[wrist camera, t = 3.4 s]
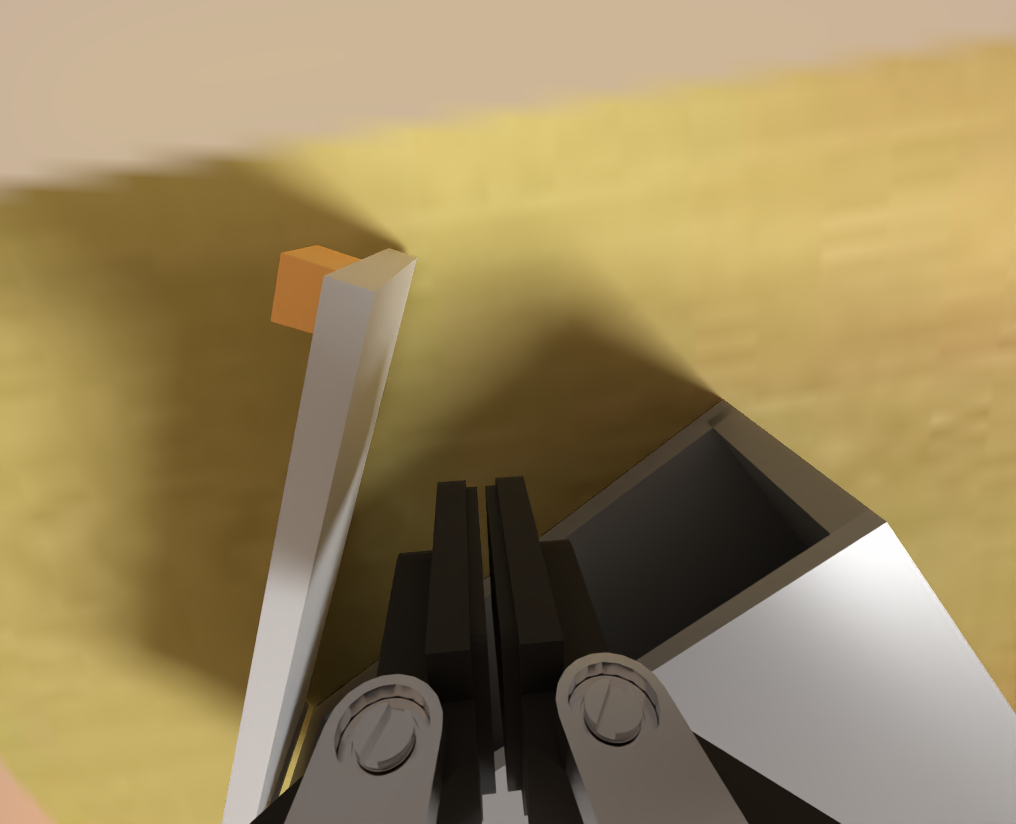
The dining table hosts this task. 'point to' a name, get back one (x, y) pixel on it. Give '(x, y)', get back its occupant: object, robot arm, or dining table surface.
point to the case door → (315, 492)
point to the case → (780, 634)
